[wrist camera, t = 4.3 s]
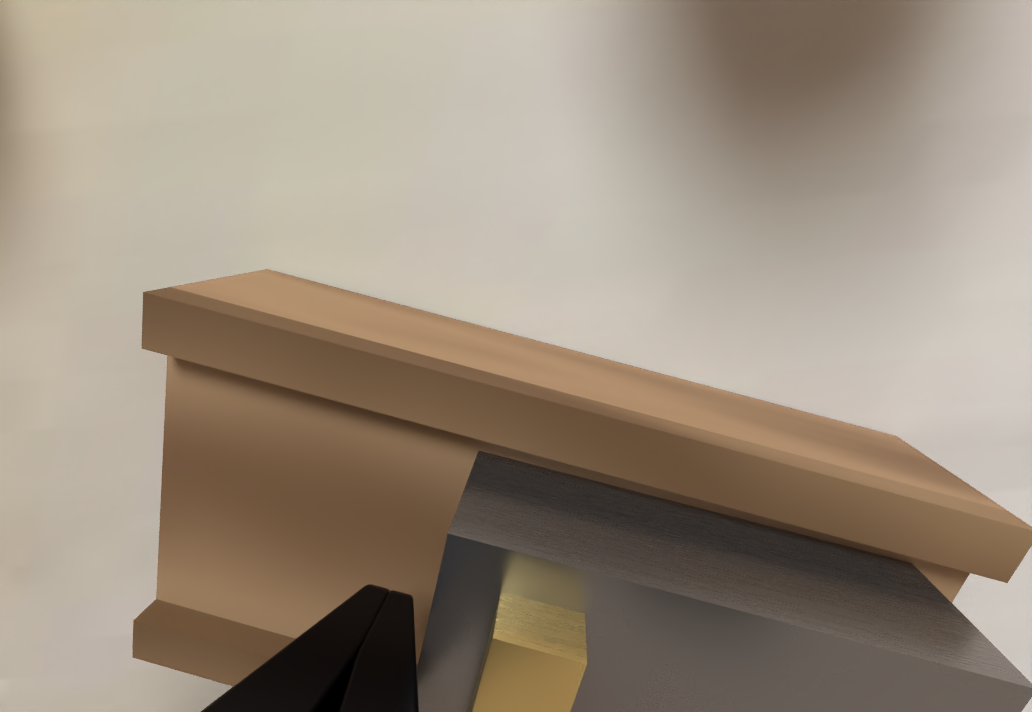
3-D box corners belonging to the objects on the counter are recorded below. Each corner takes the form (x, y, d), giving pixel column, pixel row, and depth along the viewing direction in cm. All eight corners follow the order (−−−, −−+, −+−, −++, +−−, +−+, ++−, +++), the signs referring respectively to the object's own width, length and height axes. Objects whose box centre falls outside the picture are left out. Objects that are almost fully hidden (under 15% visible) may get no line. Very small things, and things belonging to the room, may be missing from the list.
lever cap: (802, 759, 10) (905, 997, 7) (429, 658, 11) (371, 846, 7) (911, 562, 9) (1098, 751, 6) (478, 450, 9) (432, 573, 6)
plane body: (763, 695, 14) (829, 857, 10) (238, 548, 14) (132, 657, 11) (897, 436, 11) (1039, 533, 8) (266, 269, 12) (143, 292, 8)
